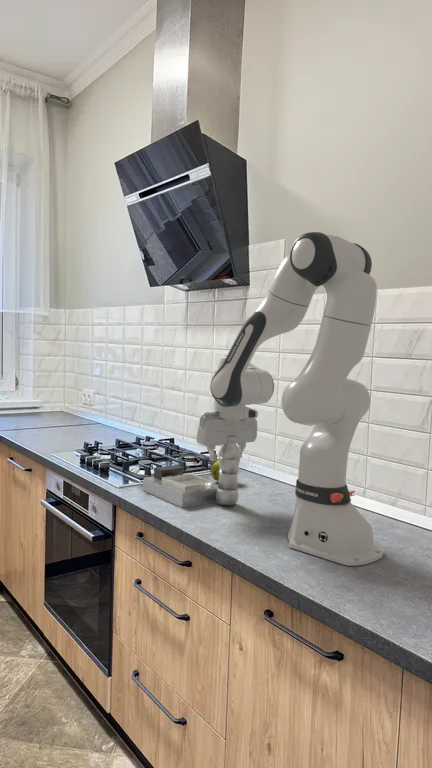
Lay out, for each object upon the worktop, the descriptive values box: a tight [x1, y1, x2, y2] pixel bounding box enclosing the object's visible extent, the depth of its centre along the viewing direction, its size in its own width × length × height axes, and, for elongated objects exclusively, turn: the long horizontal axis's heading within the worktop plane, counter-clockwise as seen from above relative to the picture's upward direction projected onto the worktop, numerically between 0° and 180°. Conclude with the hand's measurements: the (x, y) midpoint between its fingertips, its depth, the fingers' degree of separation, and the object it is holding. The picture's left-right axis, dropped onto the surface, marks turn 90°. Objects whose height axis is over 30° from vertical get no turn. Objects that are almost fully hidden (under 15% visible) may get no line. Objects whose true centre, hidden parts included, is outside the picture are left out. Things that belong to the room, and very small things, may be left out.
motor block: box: [142, 464, 218, 509], centre depth 160 cm, size 23×14×7 cm, turn 40°
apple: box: [209, 459, 220, 482], centre depth 178 cm, size 8×9×8 cm
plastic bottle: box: [216, 436, 242, 507], centre depth 152 cm, size 6×7×20 cm
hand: (225, 459), depth 153 cm, fingers open, 8 cm apart
